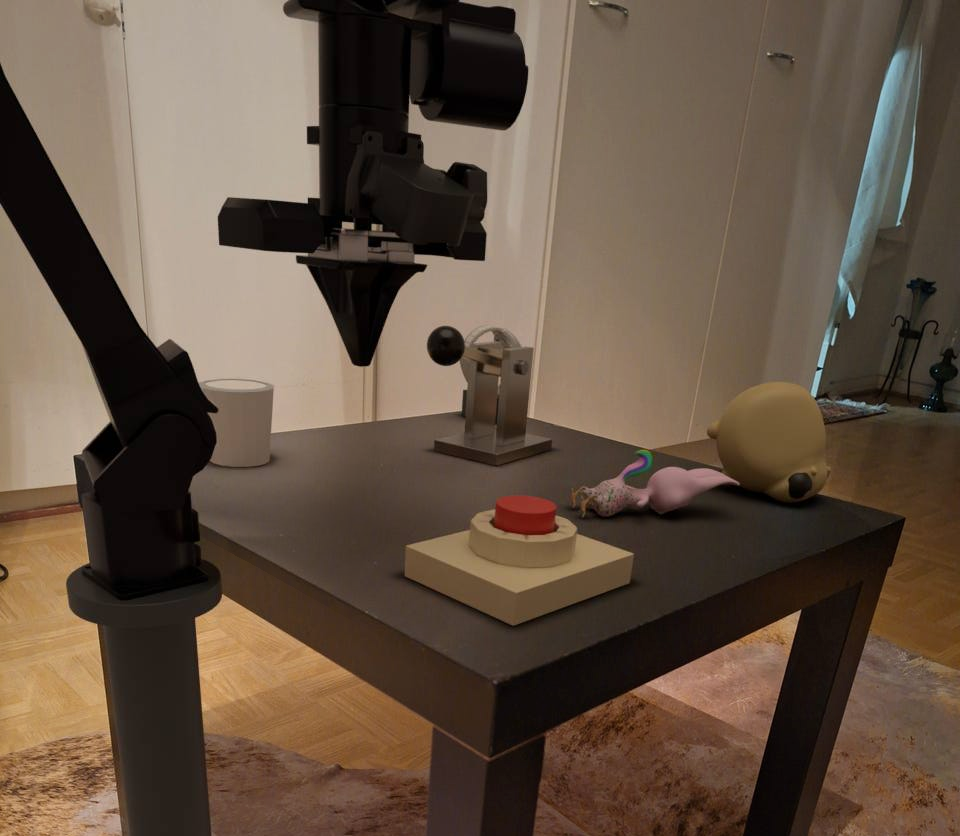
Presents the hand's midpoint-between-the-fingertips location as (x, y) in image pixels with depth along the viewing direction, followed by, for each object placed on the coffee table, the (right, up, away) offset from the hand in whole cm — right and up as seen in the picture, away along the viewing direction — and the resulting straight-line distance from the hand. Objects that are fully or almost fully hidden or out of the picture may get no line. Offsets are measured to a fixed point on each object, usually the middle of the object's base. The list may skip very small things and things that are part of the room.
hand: (361, 365), depth 62 cm
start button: (+11, -12, -4) cm, 17 cm away
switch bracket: (+10, +1, +32) cm, 33 cm away
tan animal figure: (+36, -5, +24) cm, 44 cm away
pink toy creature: (+24, -9, +14) cm, 29 cm away
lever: (+7, +7, +24) cm, 26 cm away
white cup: (-14, -3, +21) cm, 25 cm away
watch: (+9, +8, +47) cm, 49 cm away
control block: (+11, -15, -3) cm, 19 cm away
